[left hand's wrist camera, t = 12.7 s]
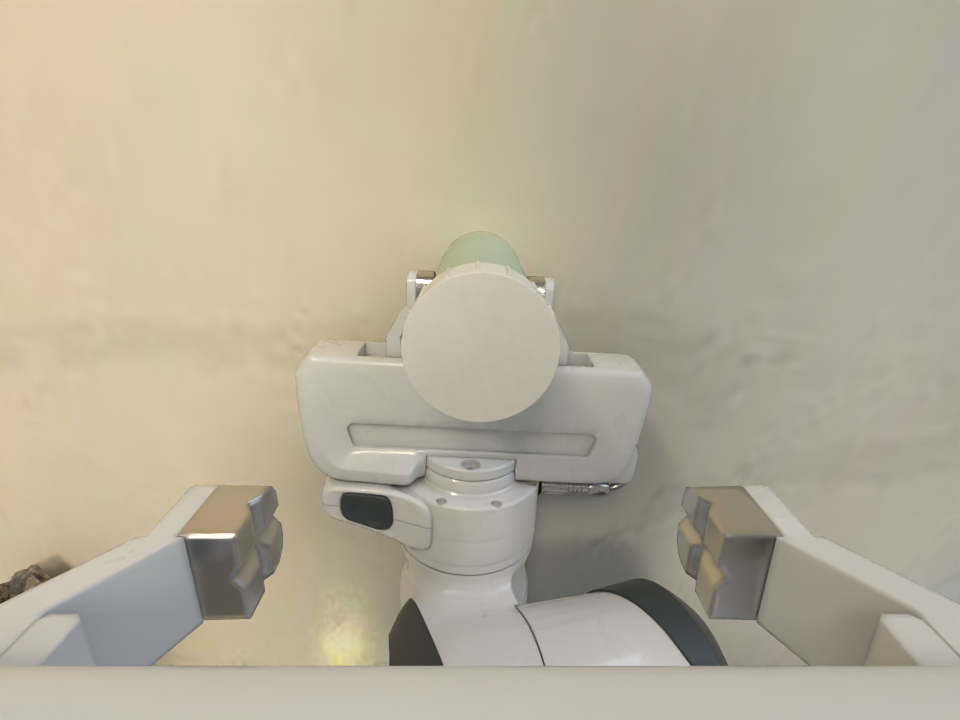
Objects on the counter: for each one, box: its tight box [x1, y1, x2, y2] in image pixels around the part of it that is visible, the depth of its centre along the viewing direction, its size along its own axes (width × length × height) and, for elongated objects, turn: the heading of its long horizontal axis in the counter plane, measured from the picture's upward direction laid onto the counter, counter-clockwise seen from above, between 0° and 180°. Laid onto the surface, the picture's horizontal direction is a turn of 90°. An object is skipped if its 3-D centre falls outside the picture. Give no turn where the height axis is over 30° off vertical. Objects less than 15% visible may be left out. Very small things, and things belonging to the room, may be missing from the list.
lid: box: [401, 261, 561, 422], centre depth 21 cm, size 6×6×2 cm
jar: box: [436, 232, 525, 277], centre depth 28 cm, size 5×5×15 cm
